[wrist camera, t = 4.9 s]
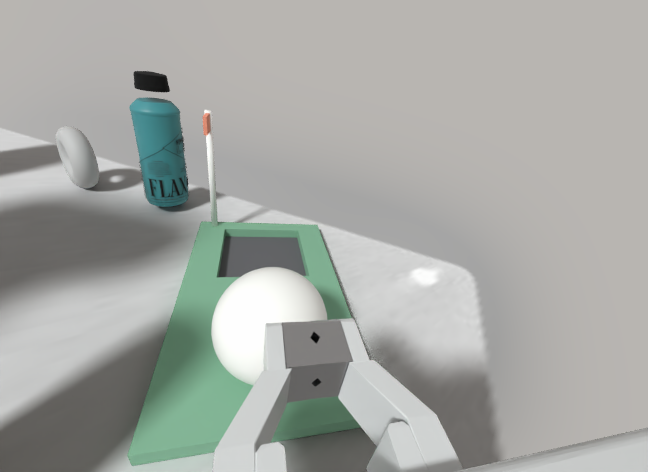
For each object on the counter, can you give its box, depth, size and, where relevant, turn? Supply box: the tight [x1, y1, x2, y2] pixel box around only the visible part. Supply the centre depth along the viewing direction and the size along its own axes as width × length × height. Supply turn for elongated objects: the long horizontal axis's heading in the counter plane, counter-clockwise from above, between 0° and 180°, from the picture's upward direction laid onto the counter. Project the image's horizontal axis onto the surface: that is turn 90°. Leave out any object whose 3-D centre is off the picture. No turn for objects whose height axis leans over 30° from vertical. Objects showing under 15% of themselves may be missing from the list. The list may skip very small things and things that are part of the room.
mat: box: [127, 110, 361, 466], centre depth 28 cm, size 30×18×18 cm, turn 12°
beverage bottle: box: [130, 71, 189, 207], centre depth 42 cm, size 6×7×20 cm
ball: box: [211, 267, 327, 385], centre depth 22 cm, size 9×9×9 cm
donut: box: [56, 126, 99, 188], centre depth 46 cm, size 10×4×10 cm, turn 50°
